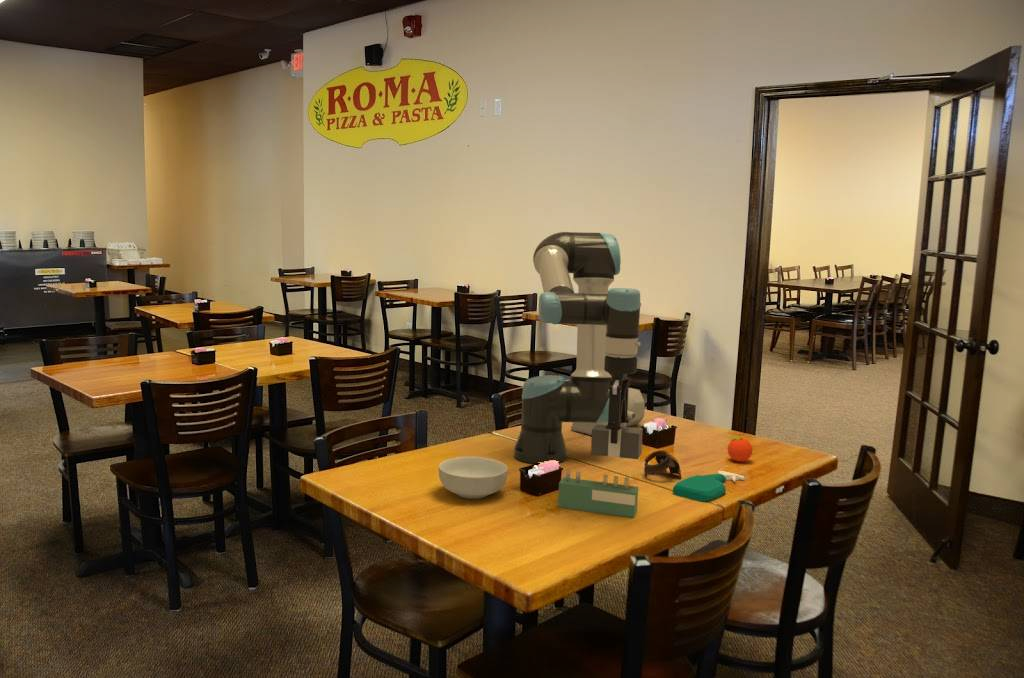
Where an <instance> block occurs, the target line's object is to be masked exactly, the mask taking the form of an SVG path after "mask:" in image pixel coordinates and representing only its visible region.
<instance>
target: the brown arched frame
mask: <svg viewBox="0 0 1024 678" xmlns="http://www.w3.org/2000/svg"><path fill="white" fill-rule="evenodd" d="M654 458H655V460H656V463H657V464H650V463H649V462H650V461H652V459H654ZM667 469H669V474H670V475H673V474H675V475H678V476H679V477H678V478H679V479H678V480H682V471H681V467H680V464H679V461H678V459H676V457H675V456H674V455H672V454H670V453H669V452H668V451H667V450H666V449H665V450H664V449H659V450H655V451H652V452H651V453H649V454H648V455H647V456H646V457H645V458H644V469H643V472H644V476H645V477H647V476H648V475H650V476H651V475H652V476H655V475H659V474H662V473H664V474H665V475H666V474H668V472H667Z"/></svg>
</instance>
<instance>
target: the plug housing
mask: <svg viewBox="0 0 1024 678" xmlns="http://www.w3.org/2000/svg"><path fill="white" fill-rule="evenodd" d="M606 426H607V425H598V424H596V425H595V427H594V428H593V429H592V436H591V440H590V441H591V442H590V443H591V444H590V455H592V456H599V457H600V456H601V457H609V456H608V441H609V429H606ZM620 429H621V445H620V457H619V458H621V459H631V460H639V459H640V457H641V455H642V449H643V431H644V430H643V429H644V428H640V427H621V428H620Z"/></svg>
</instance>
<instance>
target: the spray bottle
mask: <svg viewBox="0 0 1024 678" xmlns="http://www.w3.org/2000/svg"><path fill="white" fill-rule="evenodd" d="M745 479H746V478H745V476H744V475H741V474H739V473H738V474H737V473H733V472H728V471H724V470H717V473H715V474H712V473H711V474H703V475H700V474H696V475H693V476H690V477H687V478H684V479H681V480H680V481H678V482H676V483H675V484H674V485H673V488H672V492H673V494H674V495H675V496H677V497H678V496H679V497H682V498H685V497H686V499H689V498H690V499H689V500H693V501H697V500H698V501H697V502H701V501H704V502H703V503H706V502H705V501H707V502H710V500H711V501H713V500H715V498H716V499H718V498H720V497H722V496H723V495H724V494H726V491H727V489H726V486H725V484H724V483H725V482H726V481H733V483H736V481H739V480H742V481H744V480H745Z"/></svg>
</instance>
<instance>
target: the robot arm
mask: <svg viewBox="0 0 1024 678" xmlns="http://www.w3.org/2000/svg"><path fill="white" fill-rule="evenodd" d="M621 261H622V259H621V251H620V246H619V241H618V239H617V238H616V236H615V235H613V234H612V233H603V232H602V233H601V232H574V231H573V232H572V231H560V232H556V233H553V234H550V235H549V236H547V237H545V238H544V239H543V240H542V241H541V242H539V244H538V245H537V246H536V248H535V250H534V253H533V257H532V262H533V266H534V267H533V268H534V269H535V271H536V272H537V273H538V275H539V276H540V277H539V278H540V281H541V286H542V291H543V292H541V294H540V295H539V299H538V319H539V321H540V322H541V323H543V324H553V325H577V326H576V327H577V330H576V331H577V332H576V335H577V336H576V338H577V339H576V367H575V368H576V369H575V370H574V371H573V372H572V373H571V374H570V380H569V381H567V380H565V379H564V376H562V375H559V374H558V375H554V374H548V375H540V376H533V377H531V378H528V379H526V380H525V381H524V383H523V385H522V386H523V387H522V393H521V403H522V404H521V418H520V419H521V421H520V422H521V423H520V432H519V434H518V436H517V437H518V438H517V441H516V443H515V446H514V449H513V457H514V458H515V460H517V459H518V461H519V462H522V461H523V462H522V463H526V462H528V463H527V464H532V463H538V462H544V461H549V460H556V461H559V462H560V463H562V462H565V461H566V460H567V457H568V456H567V453H568V450H567V447H566V443H565V440H564V439H565V438H564V435H563V432H562V431H563V429H562V428H563V423H573V422H580V423H605V422H608V424H607V426H606V429H609V441H608V456H607V457H609V458H610V457H613V458H620V445H621V429H620V428H621V427H626V423H629V419H626V418H627V417H628V415H627V414H628V391H629V388H630V382H631V380H630V377H628V375H634V374H635V373H637V370H638V358H637V356H636V355H638V351H639V347H640V346H641V345H642V344H641V341H639V329H640V317H641V316H640V315H641V314H640V313H641V307H642V302H641V292H640V290H639V289H636V288H626V287H612V288H609V287H610V286H611V284H612V283H613V282H614V281H615V276H618V275H619V274H620V272H621V264H622V262H621ZM570 274H573V277H572V278H573V279H572V280H573V282H574V283H575V284H576V285H577V286H578V289H577V291H578V292H575V289H574V287H573V282H572V280H571V275H570ZM611 374H612V375H611Z"/></svg>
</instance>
